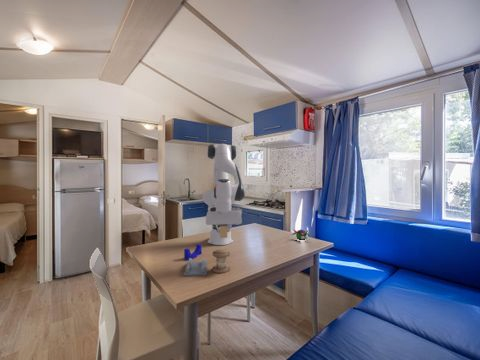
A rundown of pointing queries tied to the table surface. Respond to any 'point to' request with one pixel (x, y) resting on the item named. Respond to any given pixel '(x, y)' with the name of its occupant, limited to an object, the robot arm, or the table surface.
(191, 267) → the grey channel bracket
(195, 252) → the blue curved block
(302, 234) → the toy animal
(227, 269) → the door knob
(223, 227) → the grey and tan block
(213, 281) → the table surface
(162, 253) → the table surface
